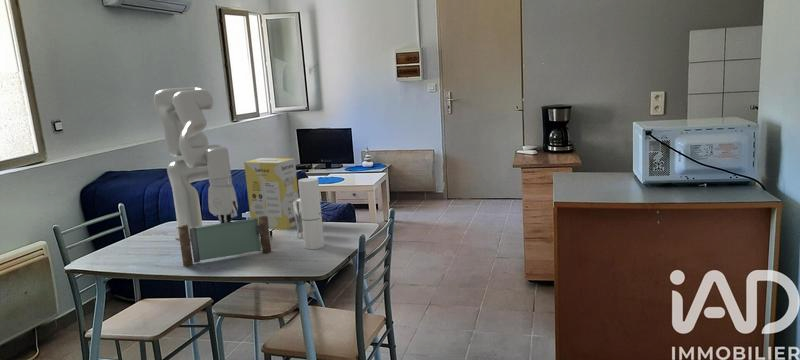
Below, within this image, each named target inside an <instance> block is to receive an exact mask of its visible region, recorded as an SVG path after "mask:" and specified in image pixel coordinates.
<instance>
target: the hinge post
mask: <svg viewBox="0 0 800 360" xmlns="http://www.w3.org/2000/svg"><path fill="white" fill-rule="evenodd" d="M177 226H178V225H177ZM177 231H178V232H177V233H179V239H180V240H179V245H180V252H181V253H180V254H181V258H182V266H183V267H190V266H191V267H192V266H193V265H194V259H193V252H192V245H191V239H190V238H189V231H188V225H180V226H178V229H177Z"/></svg>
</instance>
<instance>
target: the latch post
mask: <svg viewBox="0 0 800 360" xmlns="http://www.w3.org/2000/svg"><path fill="white" fill-rule="evenodd" d="M258 219H259V226H256V233H257V235H260V244H261V252H262V253H263V254H268V253H271V252H272V245H271V237H270V228H269V226H268V217H267V216H261V217H258Z"/></svg>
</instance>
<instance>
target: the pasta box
mask: <svg viewBox="0 0 800 360" xmlns="http://www.w3.org/2000/svg"><path fill="white" fill-rule="evenodd" d="M243 164H244V172H245V180H246V188H247V189H246V190H247V198H248V208H249V215H250V219H253V218H257V219H258V217H261V216H267V217H268V226H269V230H270V229H271V230H272V229H273V230H283V231H287V230H290V229H291V228H293V227H295V226H296V227H297V224H296V220H295V217H294V211H293V200H294V199H296V198H300V196H299V185H298V179H297V168H296V167H297V166H296V159H295V158H284V157H283V158H282V157H281V158H279V157H278V158H277V157H260V158H259V157H258V158H256V159H251V160H247V161H244V163H243ZM258 226H259V219H258Z"/></svg>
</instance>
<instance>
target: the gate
mask: <svg viewBox="0 0 800 360" xmlns="http://www.w3.org/2000/svg"><path fill="white" fill-rule="evenodd" d="M256 226H258V219H257V218H253V219H251V218H248V219H241V220H235V221H233V220H232V221H231V222H226V223H221V222H219V223H214V224H213V223H211V224H206V225H202V226H198V227H190V228H189V229H190V237H191V239H190V245H191V252H192V259H193V264H194V263H195V264H196V263H197V264H198V263H200V262H201V261H206V260H211V259H218V258H223V257H230V256H236V255H242V254H243V255H244V254H248V253H253V252H254V253H255V252H262V245H261V236H260V235H257V233H256Z"/></svg>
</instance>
